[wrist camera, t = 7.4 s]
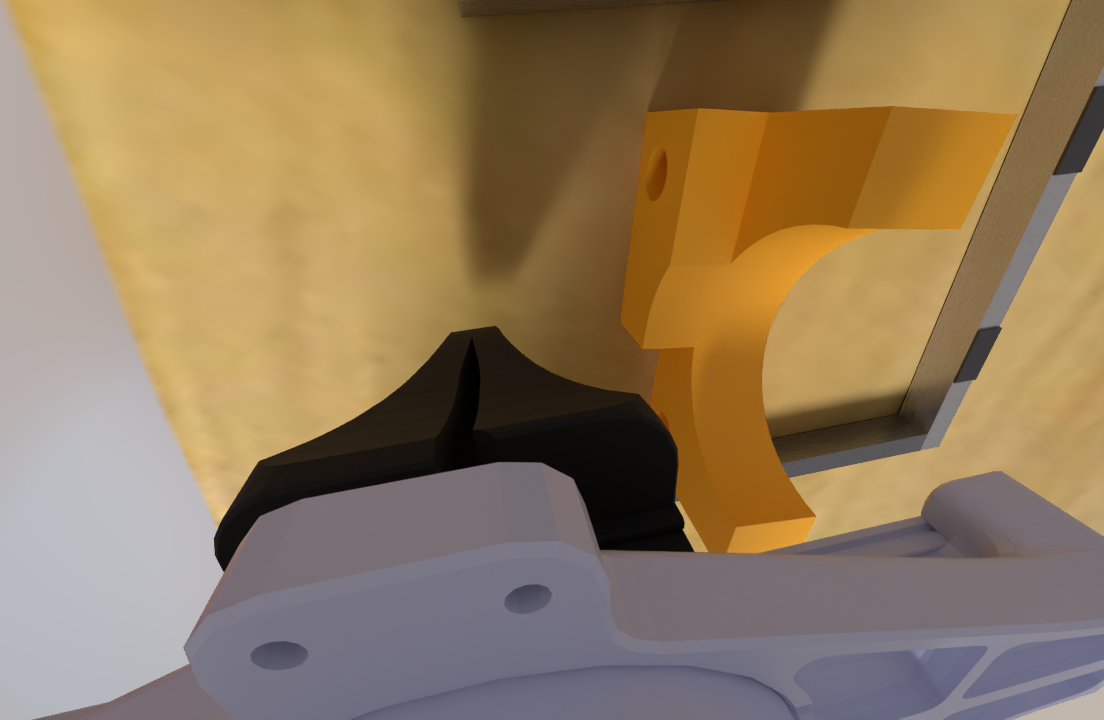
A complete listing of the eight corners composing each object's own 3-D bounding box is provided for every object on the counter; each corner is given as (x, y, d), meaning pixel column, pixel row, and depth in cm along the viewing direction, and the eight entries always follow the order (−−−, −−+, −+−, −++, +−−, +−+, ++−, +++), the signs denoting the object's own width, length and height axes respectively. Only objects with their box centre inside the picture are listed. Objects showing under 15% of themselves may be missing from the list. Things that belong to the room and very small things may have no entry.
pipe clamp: (644, 112, 12) (798, 100, 6) (777, 120, 13) (1017, 114, 7) (602, 438, 18) (665, 579, 12) (696, 430, 19) (795, 559, 13)
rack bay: (909, 426, 21) (941, 447, 19) (534, 501, 19) (539, 531, 17) (1131, -73, 12) (1219, -99, 10) (453, -39, 10) (450, -67, 8)
